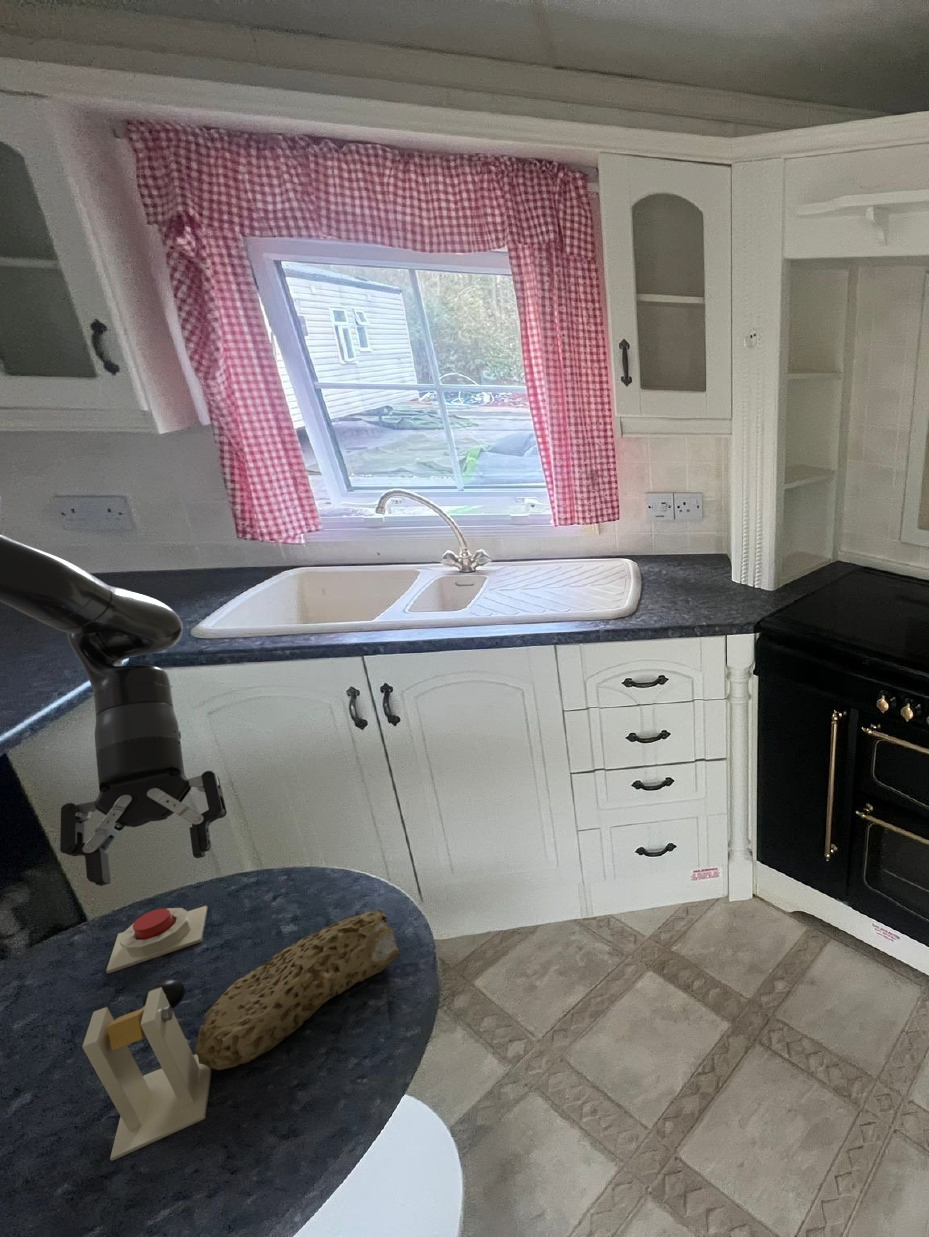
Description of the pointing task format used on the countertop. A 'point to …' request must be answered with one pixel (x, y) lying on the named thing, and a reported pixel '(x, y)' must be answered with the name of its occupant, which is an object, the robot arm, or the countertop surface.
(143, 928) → the button
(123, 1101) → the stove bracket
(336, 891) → the countertop surface
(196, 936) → the button block
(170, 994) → the lever
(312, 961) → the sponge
